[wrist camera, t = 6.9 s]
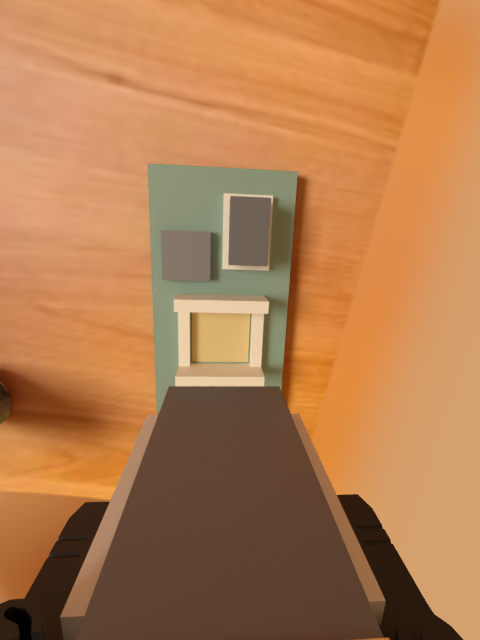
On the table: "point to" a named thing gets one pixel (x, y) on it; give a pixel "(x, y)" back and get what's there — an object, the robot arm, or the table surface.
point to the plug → (227, 533)
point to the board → (220, 274)
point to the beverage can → (4, 403)
